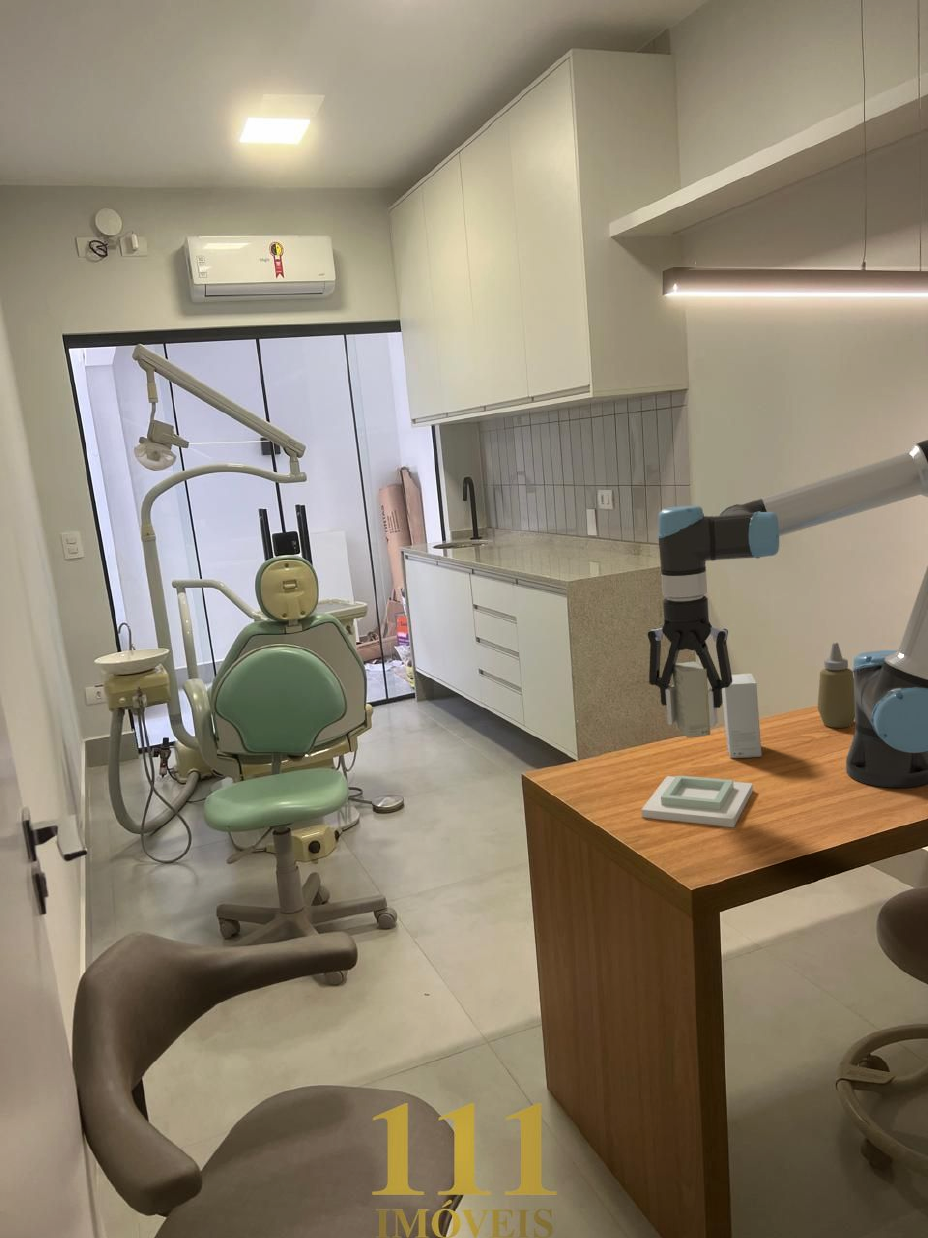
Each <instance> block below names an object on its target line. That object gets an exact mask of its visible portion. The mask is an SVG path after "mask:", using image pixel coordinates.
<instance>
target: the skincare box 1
mask: <svg viewBox="0 0 928 1238" xmlns="http://www.w3.org/2000/svg"><path fill="white" fill-rule="evenodd" d="M672 683H673V685H674V700H675V715H676V721H675V726H676V730H678V731H679V732H680V733H681V734H682V735H683V736H684V737H686V739H691V738H701V737H706V736H710V735H711V727H710V721H709V704H708V690H709V689H708V678H707V669H704V668H703V666H702V664H700V663H698V662H696V661H687V662H685V661H684V662H678V663H677V662H676V663H675V665H674V667H673V673H672Z"/></svg>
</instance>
